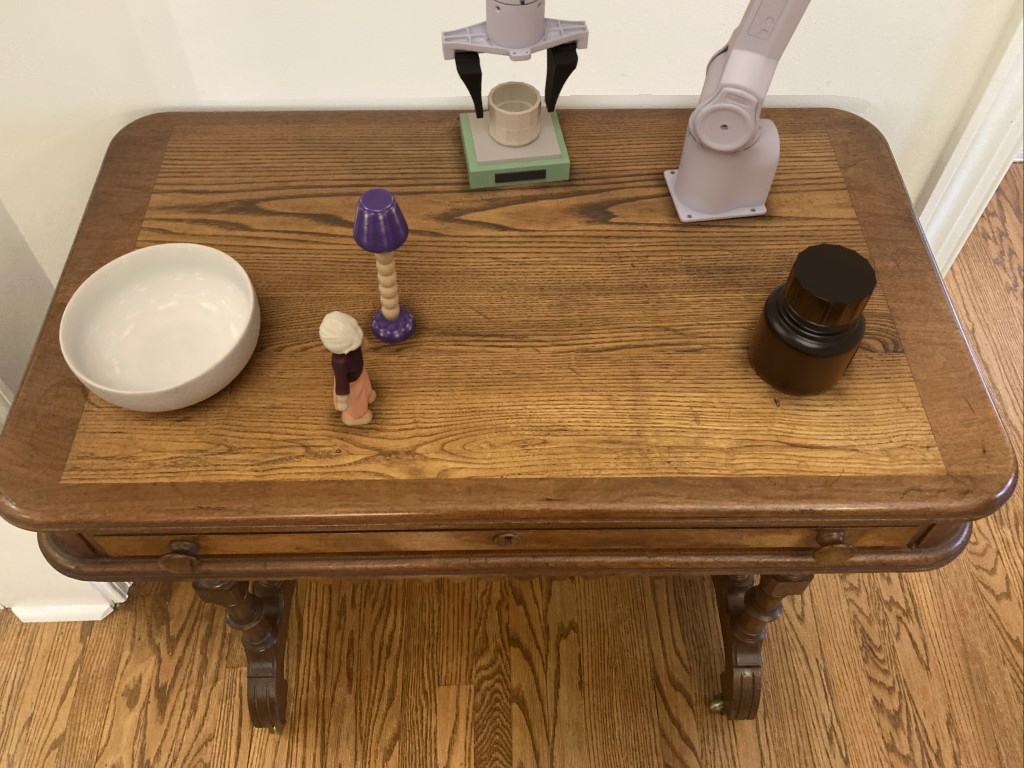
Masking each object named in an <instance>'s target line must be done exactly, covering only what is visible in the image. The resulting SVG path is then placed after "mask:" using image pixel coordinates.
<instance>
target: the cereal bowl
mask: <svg viewBox="0 0 1024 768" xmlns="http://www.w3.org/2000/svg"><path fill="white" fill-rule="evenodd" d="M260 308H261V307H260V305H259V299H258V296H257V292H256V290H255V286H254V284H253V282H252V280H251V277H250V276H249V274H248V273H247V272H246V269H244V267H243V266H242V265H241V263H239V262H238V261H237V260H236V259H234V258H233V257H231V256H230V255H229V254H227V253H225V252H223V251H221V250H220V249H217V248H214V247H211V246H207V245H204V244H199V243H192V242H191V243H190V242H169V243H162V244H154V245H149V246H145V247H142V248H139V249H135V250H133V251H130V252H128V253H125V254H123V255H121V256H119V257H117V258H115V259H113V260H111V261H110V262H108V263H106V264H105V265H103V266H101V267H100V268H99V269H97V270H95V271H94V272H93V273H92V274H91V275H90V276H89V277H88V278H86V280H84V281H83V282H82V283H81V285H80V286H79V287H78V288H77V289H76V291H75V292H74V293H73V295H72V296H71V297H70V299H69V301H68V303H67V304H66V307H65V309H64V311H63V313H62V317H61V319H60V323H59V324H60V325H59V331H58V333H59V334H58V335H59V346H60V351H61V354H62V356H63V358H64V360H65V363H66V364H67V365H68V367H69V369H70V370H71V372H72V373H73V374H74V376H75V377H76V378H77V379H78V380H79V381H80V382H81V383H82V384H83V385H84V386H85V387H86V388H87V389H88V390H89V391H90V392H92V393H93V394H94V395H96V396H97V397H99V398H100V399H102V400H103V401H106V403H107V402H108V403H109V404H111V405H114V406H117V407H119V408H123V409H125V410H130V411H134V412H142V413H162V412H170V411H171V412H172V411H175V410H179V409H185V408H187V407H190V406H194V405H195V404H198V403H200V402H203V401H205V400H207V399H209V398H210V397H212V396H213V397H214V395H215V394H218V393H219V392H221V391H222V390H223V389H224V388H226V387H227V386H228V385H230V384H231V383H232V381H234V380H235V379H236V378H237V377H238V376H239V374H240V373H241V372H242V371H243V369H244V368H245V366H246V365H247V364H248V363H249V360H250V359H251V358H252V356H253V353H254V351H255V349H256V346H257V344H258V341H259V336H260V331H261V330H260V329H261V321H262V320H261V309H260Z"/></svg>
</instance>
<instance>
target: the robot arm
mask: <svg viewBox="0 0 1024 768" xmlns="http://www.w3.org/2000/svg"><path fill="white" fill-rule="evenodd" d="M811 2H812V0H749V2H748V5H747V6H746V9H745V11H744V13H743V15H742V17H741V20H740V22H739V24H738V26H736V28H734V29H733V32H732V33H731V35H730V37H729V39H728V41H727V42H726V43H725V45H724V46H723V47H721V48H720V49H719V50H717V51H716V52H715V53H714V54H713V55H712V56H711V57H710V59H709V61H708V63H707V65H706V70H705V78H704V81H703V85H702V89H701V93H700V96H699V99H698V101H697V102H698V103H697V106H696V108H695V109H694V110H693V111H692V112H691V113H690V116H689V119H688V122H687V128H686V132H685V137H684V141H683V145H682V146H683V147H682V149H681V156H680V160H679V164H678V168H677V169H667V170H664V172H663V179H664V181H665V184H666V186H667V188H668V192H669V194H670V197H671V199H672V203H673V205H674V208H675V210H676V213H677V216H678V218H679V220H680V222H682V223H685V224H686V223H694V222H705V221H713V220H714V221H716V220H725V219H726V220H727V219H734V218H743V217H744V218H745V217H754V216H764V215H765V214H766V213H767V207H766V203H767V199H768V197H769V194H770V190H771V187H772V184H773V182H774V178H775V175H776V173H777V169H778V166H779V163H780V156H781V140H780V139H781V138H780V135H779V131H778V128H777V126H776V124H775V123H774V121H773V120H772V119H769V118H760V117H761V114H762V109H763V103H764V101H765V99H766V97H767V94H768V93H769V89H770V87H771V84H772V81H773V79H774V75H775V73H776V71H777V67H778V65H779V62H780V60H781V58H782V56H783V54H784V53H785V50H786V49H787V47H788V45H789V43H790V41H791V40H792V37H793V35H794V34H795V32H796V30H797V28H798V26H799V24H800V23H801V20H802V19H803V16H804V15H805V13H806V11H807V9H808V7H809V5H810V4H811ZM545 12H546V0H485V20H484V21H481V22H478V23H474V24H470V25H467V26H464V27H461V28H457V29H453V30H447V31H445V30H444V31H441V33H440V34H441V47H442V49H441V50H442V55H443V60H444V61H452V60H454V63H455V69H456V72H457V74H458V77H459V78H460V80H461V81H462V83H463V84H464V86H465V88H466V89H467V92H468V93H469V96H470V98H471V101H472V103H473V106H474V112H476V117H477V118H478V119H479V118H483V112H484V106H483V96H482V90H483V89H482V87H483V86H482V85H483V84H482V82H483V81H482V80H483V72H482V71H483V70H482V65H481V58H480V54H490V55H491V54H492V55H499V56H504V57H505V56H506V57H509V60H510V61H512V62H525V61H526V62H527V61H530V60H531V59H532V54H535V53H538V52H541V51H544V50H546V75H545V85H544V105H545V106H546V107H547V111H548V112H554V109H555V110H556V105H557V102H558V99H559V97H560V94H561V92H562V90H563V88H564V86H565V84H566V82H567V80H568V79H569V78H570V76H571V75H572V73H573V72H574V71H575V70H576V69H577V66H578V64H579V55H578V52H577V50H585V49H587V50H588V45H589V44H588V43H589V33H590V31H589V28H588V25H587V23H586V22H587V21H586V20H568V19H567V20H566V19H557V18H551V17H545V14H546V13H545Z"/></svg>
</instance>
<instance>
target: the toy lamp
mask: <svg viewBox="0 0 1024 768" xmlns="http://www.w3.org/2000/svg"><path fill="white" fill-rule="evenodd" d="M409 231H410V230H409V225H408V222H407V220H406V217H405V215H404V213H403V210H402V209H401V207H400V205H399V203H398V201H397V198H396V197H395V195H394V194H393V193H392V192H391V191H389V190H387V189H386V188H379V187H374V188H370V189H368V190H366V191H364V192H363V193H362V194H361V195H360V196H359V199H358V201H357V205H356V209H355V216H354V220H353V225H352V236H353V240H354V242H355V243H356V245H357V246H358V247H359V248H361V249H362V250H363V251H366V252H367V253H371V254H374V258H375V260H376V261H375V268H376V270H377V281H378V292H379V294H380V297H379V300H380V304H381V307H379V309H377V311H376V312H375V313H374V315H373V317H372V320H371V324H370V325H371V328H370V329H371V331H372V333H373V335H374V337H375V338H377V339H378V340H379V341H381V342H383V343H389V344H395V343H396V344H397V343H400V342H403V341H405V340H408V339H409V338H410V337H411V336H412V335H413V334H414V332H415V330H416V326H417V325H416V323H417V322H416V319H415V317H414V315H413V313H412V312H411V311H410V310H409V309H408V308H407V307H406V306H403V305H402V304H400V303H399V302H400V297H399V293H398V291H399V285H398V282H397V281H398V275H397V274H398V273H397V270H396V261H395V250H398V249H400V248H401V247H403V245H404V244H405V243H406V241H407V239H408V237H409Z"/></svg>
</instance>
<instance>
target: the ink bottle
mask: <svg viewBox="0 0 1024 768" xmlns="http://www.w3.org/2000/svg"><path fill="white" fill-rule="evenodd" d="M785 281H786V282H783V283H782V284H780V285H778V286H776V287H775V288H774V289H773V290H772V291H771V292H770V293H769V294H768V296H767V297H766V299H765V301H764V303H763V305H762V308H761V311H760V313H759V316H758V318H757V320H756V324H755V327H754V330H753V332H752V334H751V337H750V340H749V343H748V356H749V361H750V363H751V365H752V367H753V368H754V370H755V372H756V373H757V374H758V376H760V377H761V378H762V379H763V380H764V381H765V382H766V383H768V384H769V385H770V386H772V387H773V388H775V389H777V390H779V391H781V392H784V393H786V394H789V395H793V396H800V397H801V396H803V397H804V396H805V397H806V396H813V395H819V394H822V393H824V392H827V391H828V390H830V389H831V388H833V387H834V386H835V385H836V384H838V383H839V382H840V380H841V379H842V377H843V376H844V374H845V373H846V372H847V370H848V368H849V367H850V364H851V362H852V361H853V360H854V357H855V355H856V353H857V352H858V350H859V348H860V345H861V344H862V341H863V339H864V337H865V333H866V329H867V321H866V316H865V313H864V311H865V309H866V307H867V305H868V303H869V301H870V299H871V297H872V296H873V294H874V290H875V289H876V286H877V285H878V281H877V275H876V269H875V268H874V267H873V266H872V264H871V263H870V262H869V260H868V259H867V258H865V257H864V256H863V255H861V254H860V253H859V252H857V250H856V249H852V248H849V247H846V246H844V245H841V244H833V243H827V242H826V243H825V242H822V243H819V244H815V245H814V244H813V245H808V246H807V247H806V248H805V249H803V250H801V251H799V252H798V253H797V256H796V259H795V260H794V261H793V264H792V266H791V269H790V271H789V274H788V276H787V279H786V280H785Z"/></svg>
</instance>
